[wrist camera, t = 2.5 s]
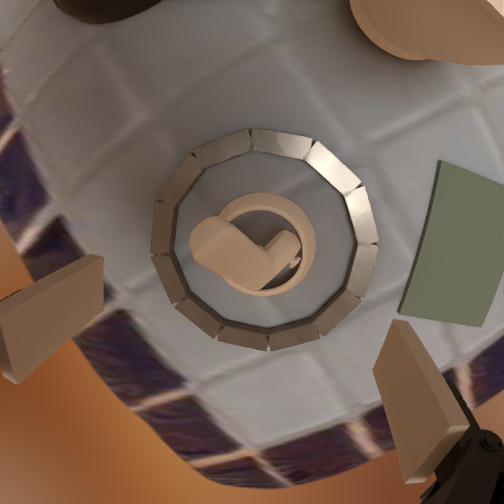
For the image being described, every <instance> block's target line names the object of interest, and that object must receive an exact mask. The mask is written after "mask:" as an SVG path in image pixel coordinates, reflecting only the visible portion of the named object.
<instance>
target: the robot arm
mask: <svg viewBox="0 0 504 504" xmlns="http://www.w3.org/2000/svg"><path fill="white" fill-rule="evenodd" d="M53 1H54V3H55V5H56V6H57V7H58V8H59V9H60V10H61V11H62V12H64V13H66V14H68V15H70V16H72V17H74V18H76V19H78V20H80V21H82V22H86V23H107V22H112V21H116V20H120V19H123V18H126V17H129V16H131V15H134V14H136V13H138V12H141V11H143V10H145V9H147V8H148V7H150V6H152V5H154V4H155V3H157V2H159V1H160V0H53ZM103 263H104V257H101V256H97V255H93V254H89V255H87V256H85V257H83V258H81V259H79V260H77V261H75V262H73V263H71V264H69V265H67V266H65V267H63V268H62V269H60V270H58V271H56V272H54V273H52V274H50V275H48V276H46V277H44V278H42V279H41V280H39V281H37V282H35V283H33V284H31V285H29V286H28V287H26V288H24V289H22V290H18V291H16V292H15V293H13V294H11V295H10V296H7V297H6V298H4V299H3V300H0V366H1V369H2V372H3V375H4V377H6V378H7V379H9V380H10V381H12V382H13V383H15V384H16V385H18V384H19V383H20V382H21V381H22V380H23V379H24V378H26V377H27V375H29V374H30V373H31V372H32V371H33V370H34V369H36V368H37V367H38V366H39V365H40V364H41V363H42V362H43V361H45V360H46V359H47V358H48V357H49V356H50V355H51V354H53V353H54V352H55V351H56V350H57V349H58V348H59V347H60V346H62V345H63V344H64V343H65V342H66V341H68V340H69V339H70V338H71V337H72V336H73V335H75V334H76V333H77V332H78V331H79V330H81V329H82V328H83V327H84V326H85V325H86V324H88V323H89V322H90V321H91V320H92V319H94V318H95V317H96V316H97V315H98V314H100V313H101V312H102V311H103V310H104V297H103ZM372 371H373V374H374V377H375V380H376V383H377V386H378V389H379V392H380V396H381V399H382V402H383V405H384V409H385V412H386V415H387V419H388V422H389V425H390V429H391V432H392V436H393V439H394V443H395V447H396V450H397V454H398V458H399V461H400V465H401V469H402V473H403V477H404V481H405V483H419V482H425V480H427V478H428V477H429V476H430V475H431V474H432V473H433V472H435V475H436V478H437V480H436V481H435V482H434V483H433V484H432V485H431V486H430V487H429V488H428V489H427V490H426V491H425V492H424V493H423V494H422V495H421V496H420V498H421V499H422V498H423V497H424V496H425V497H424V499H423V500H422V502H421V504H504V444H503V442H502V440H501V439H500V438H499V436H498V435H496V434H495V433H493V432H492V431H489V430H481V429H480V427H479V425H478V423H477V422H476V420H475V418H474V416H473V414H472V413H471V411H470V409H469V407H467V404H466V402H465V401H464V399H463V397H462V396H461V394H460V392H459V391H458V389H457V388H456V387H455V386H454V385H453V384H452V383H451V382H450V381H446V380H444V378H443V376H442V375H441V373H440V371H439V370H438V368H437V366H436V365H435V363H434V361H433V360H432V358H431V356H430V355H429V353H428V352H427V350H426V348H425V347H424V345H423V344H422V342H421V341H420V339H419V337H418V336H417V334H416V333H415V331H414V330H413V328H412V327H411V325H410V324H409V322H408V321H403V320H397V319H393V320H392V323H391V326H390V328H389V331H388V334H387V336H386V339H385V341H384V344H383V346H382V348H381V351H380V353H379V356H378V358H377V360H376V363H375V365H374V367H373V370H372Z"/></svg>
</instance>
